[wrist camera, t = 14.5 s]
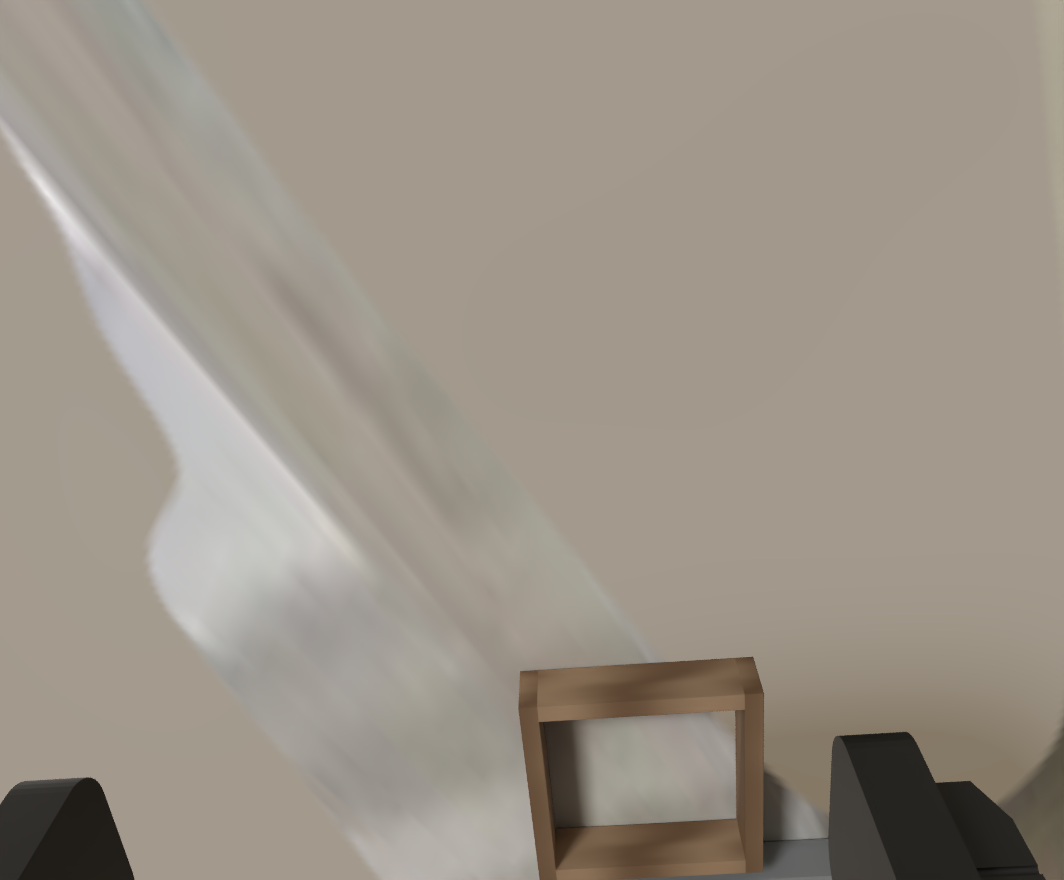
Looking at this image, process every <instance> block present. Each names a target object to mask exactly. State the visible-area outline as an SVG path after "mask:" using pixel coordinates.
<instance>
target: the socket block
mask: <svg viewBox="0 0 1064 880" xmlns="http://www.w3.org/2000/svg"><path fill="white" fill-rule="evenodd" d="M729 710H735V716H736V816H737V819H729V820H710V821H692V822H673V823H655V824H636V825H618V826H599V827H581V828H562V829H556V827H555V818H554V809H553V800H552V791H551V782H550V773H549V764H548V756H547V747H546V738H545V729H544V722H547V721H564V720H581V719H597V718H614V717H630V716H647V715H664V714H680V713H697V712H713V711H729ZM519 716H520V724H521V733H522V741H523V749H524V757H525V765H526V773H527V781H528V789H529V797H530V805H531V813H532V821H533V829H534V837H535V845H536V853H537V861H538V869H539V877H540V880H618V879H638V878H657V877H677V876H697V875H716V874H736V873H756V872H763V764H764V755H763V754H764V752H763V751H764V749H763V748H764V746H763V745H764V743H763V742H764V693H763V689H762V685H761V682H760V679H759V675H758V673H757V669H756V666H755V662H754V658H753V657H743V658H727V659H711V660H696V661H680V662H664V663H648V664H632V665H616V666H600V667H585V668H569V669H553V670H537V671H521V672H520V688H519Z"/></svg>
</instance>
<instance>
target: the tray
mask: <svg viewBox="0 0 1064 880" xmlns="http://www.w3.org/2000/svg"><path fill="white" fill-rule="evenodd" d="M618 880H832V876H831V869H830V861H829V847H828V839H811V840H792V841H773V842H763V872H756V873H736V874H716V875H697V876H677V877H657V878H638V879H618Z"/></svg>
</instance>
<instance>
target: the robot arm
mask: <svg viewBox="0 0 1064 880" xmlns="http://www.w3.org/2000/svg"><path fill="white" fill-rule="evenodd" d="M828 847H829V861H830V869H831V876H832V880H1046V879H1045V878H1044V876H1043V874H1039V871H1038V865H1037V863H1036V861H1035V859H1034V858H1033V856H1032V854H1031V852H1030V850H1029V848H1028V847H1027V845H1026V843H1025V841H1024V839H1023V837H1022V836H1021V834H1020V832H1019V830H1018V828H1017V827H1016V825H1015V823H1014V821H1013V819H1012V818H1011V817H1010V816H1008V815H1007V814H1006V813H1005V812H1004V811H1003V810H1002V809H1001V808H1000V807H998V806H997V805H996V804H995V803H994V802H993V801H992V800H991V799H989V798H988V797H987V796H986V795H985V794H984V793H983V792H982V791H981V790H979V789H978V788H977V787H976V786H975V785H974V784H973V783H972V782H971V781H963V782H962V781H961V782H944V783H935V781H934V779H933V777H932V775H931V773H930V771H929V768H928V766H927V764H926V762H925V760H924V758H923V756H922V754H921V752H920V750H919V748H918V745H917V743H916V742H915V740H914V738H913V737H912V736H911V735H910V734H909V733H908V732H896V733H880V734H863V735H845V736H836V737H835V738H834V741H833V747H832V764H831V791H830V813H829V837H828ZM0 880H134V876H133V872H132V869H131V867H130V864H129V861H128V858H127V856H126V853H125V850H124V847H123V845H122V842H121V839H120V836H119V833H118V830H117V828H116V825H115V822H114V819H113V817H112V814H111V811H110V808H109V805H108V803H107V800H106V797H105V794H104V792H103V790H102V787H101V786H100V784H99V783H98V782H97V781H96V780H95V779H93V778H71V779H55V780H38V781H24V782H21V783H19V784H17V785H15V786H14V787H13V788H12V789H11V790H10V792H9V793H8V794H7V796H6V797H5V798H4V800H3V801H2V803H1V804H0Z"/></svg>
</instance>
